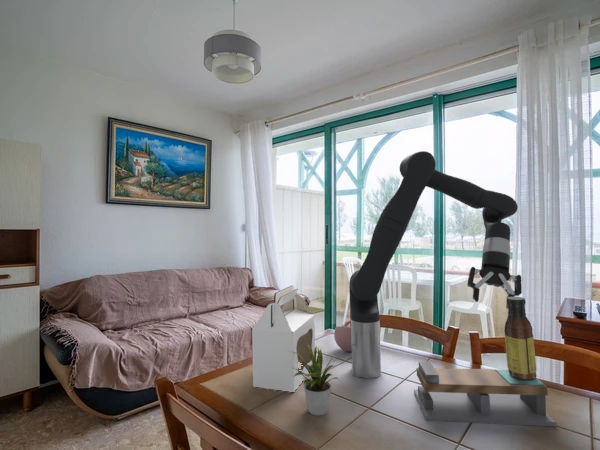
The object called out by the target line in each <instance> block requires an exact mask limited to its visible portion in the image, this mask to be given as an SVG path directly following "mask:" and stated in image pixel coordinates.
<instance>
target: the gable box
mask: <svg viewBox="0 0 600 450" xmlns="http://www.w3.org/2000/svg"><path fill="white" fill-rule="evenodd" d="M298 290H299V288H296V289H295V286H294V285H290V286H287V287H284V288H282V289H280V290H278V291H276V292H275V293H274V296H273V302H271V303H269V304H268V305H267V306H266V308H265V310H264V311H263V312H262V314H261V316H260V317H259V319H258V320H257V322H256V324H255V325H254V327H253V328H252V329H251V332H252V334H251V337H252V338H251V339H252V343H251V344H252V346H251V347H252V387H253V386H257V387H265V388H272V389H277V390H283V391H289V392H288V393H290V392H294V393H295V392H296V391H297V390H298V389H299V388H300V386H301V385H302V383H303V382H304V381H305V380H306V378H307V376H305V377H306V378H305V377H303V376H302V375H301V374H300V375H297V376H294V375H295V374H296V373H298V371H297V370H302V371H300V372H303V373H305V374H309V372H308V370H307V369H306V368H305V366H304V365H305V364H304V363H305V362H306V363H307V365H308V366H310V365H312V361H311V358H310V352H309V348H308V345H309V346H310V347H311V348H312V351H313V355H314V350H315V347H316V340H315V339H316V336H315V327H316V326H315V314H314V313H313V312H312V311H311V309H310V307H309V306H308V305H307V303H306V302H305V300H304V299H303V297H302V296H301V295H300V294H299V293H297V292H298ZM307 344H308V345H307ZM292 352H295V353H292ZM296 353H297V354H296ZM298 354H299V355H300V356H301V357H302V358H303V359H304V360H305V362H304V360H303V359H302V358H301V357H300V356H299V355H298ZM297 355H298V356H297ZM297 361H301V362H300V363H302V364H304V365H303V366H301V369H299V368H298V362H297ZM294 362H295V363H294ZM303 362H304V363H303ZM302 364H301V365H302ZM293 368H295V369H297V370H295V369H293ZM307 368H308V367H307ZM309 371H310V370H309ZM305 374H303V375H305ZM293 376H294V377H293ZM302 378H304V379H302ZM302 381H303V382H302ZM299 385H300V386H299ZM296 389H297V390H296ZM295 390H296V391H295ZM283 391H282V392H283Z"/></svg>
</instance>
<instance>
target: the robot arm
mask: <svg viewBox="0 0 600 450" xmlns="http://www.w3.org/2000/svg"><path fill="white" fill-rule="evenodd" d="M436 164H437V163H436V160H435V156H433V154H432V153H431V152H429V151H426V150H422V151H421V150H420V151H416V152H414V153H411V154H409V155H407V156H406V157H404V158H403V159H402V160H401V162H400V165H399V173H400V175H401V177H402V180H401V183H400V185H399V187H398V189H397V190H396V192H395V193H394V194H393V196H392V197H391V199H390V200H389V201H388V203H387V204H386V205H385V207H384V208H383V210H382V212H381V214H380V216H379V217H378V220H377V222H376V225H375V227H374V229H373V232H372V235H371V239H370V244H369V246H368V247H369V248H368V252H367V254H366V256H365V259H364V261H363V263H362V265H361V266H360V268H359V270H356V271H355V272H353V273H352V274H351V276H350V279H349V281H348V282H349V284H348V285H349V287H348V288H349V290H348V291H349V307H350V308H349V309H350V320H351V323H350V327H351V339H352V340H351V345H352V352H351V372H352V376H355V377H359V378H364V379H372V378H373V379H374V378H378V377H379V376H381V374H382V364H381V363H382V362H381V360H382V358H381V325H380V323H381V322H380V310H379V304H378V303H379V302H378V294H379V292H380V291H381V288H382V284H383V281H384V278H385V275H386V272H387V269H388V267H389V265H390V262H391V261H392V258H393V256H394V255H395V253H396V252H397V249H398V247H399V245H400V242H401V241H402V239H403V237H404V235H405V232H406V231H407V228H408V226H409V224H410V221H411V219H412V217H413V214H414V212H415V209H416V207H417V205H418V202H419V201H420V198H421V195H422V194H423V192H424V190H425V189H426V187H427V188H430V189H432V190H435V191H437V192H440V193H442V194H443V195H446V196H448V197H450V198H452V199H455V200H456V201H459V202H461V203H462V204H464V205H466V206H469V207H470V208H472V209H474V210H478V209H482V212H481V215H482V220H483V225H484V228H485V233H484V234H485V235H484V241H483V242H484V243H483V246H482V250H481V251H482V255H481V267H480V269H478V268H476V267H475V266H471V268H470V269H469V273H468V280H467V284H466V285H467V287H469V288H471V289H472V291H473V292H472V300H474V302H475V303H478V302H479V300H480V299H479V297H480V288H481V287H482V286H483V285H485V284H486V285H487V286H494V287H497V288H499V287H500V288H501V289H502V290H503V291H504V292H505V293H506V295H507V296H506V298H507V297H520V295H521V294H522V293H523V289H522V288H523V287H522V275H520V274H517V275H516V274H515V275H514V274H513V275H512V274H511V273H510V264H511V263H510V262H511V261H510V260H511V227H510V225H508V224H507V223H504V222H502V220H505V219H508V218H510V217H512V216H513V215H515V214H516V213H517V212H518V203H517V202H516V200H515V199H514V198H513V197H512V196H510V195H508V194H505V193H501V192H497V191H494V190H488V189H485V188H483V187H481V186H480V185H477V184H475V183H473V182H471V181H468V180H466V179H464V178H460V177H457V176H453V175H449V174H446V173H443V172H441V171H439V170H437V169H436ZM478 274H479V275H480V276H479V277H481V279H480V280H479V281H478V282H476V283H475V282H474V279H475V277H476V276H477V275H478ZM510 280H511V283H513V284H514V288H512V286H511V284H510V283H509V282H508V281H510ZM505 304H506V308H505V309H508V304H507V302H506V303H505Z"/></svg>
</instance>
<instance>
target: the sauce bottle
mask: <svg viewBox="0 0 600 450" xmlns="http://www.w3.org/2000/svg"><path fill="white" fill-rule="evenodd" d="M506 303H507V304H508V308H507V311H508V312H507V318H506V320H505V324H504V339H505V340H504V342H505V353H506V354H505V355H506V367H507V370H509V374H510V375H511V376H513V377H515V378H517V379H524V380H533V379H535V378H537V362H536V361H537V360H536V351H535V338H534V334H533V327H532V324H531V321H530V320H529V319H528V317H527V313H526V307H525V305H526V304H527V303H526V298H525V297H521V296H514V297H507V296H506Z"/></svg>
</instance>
